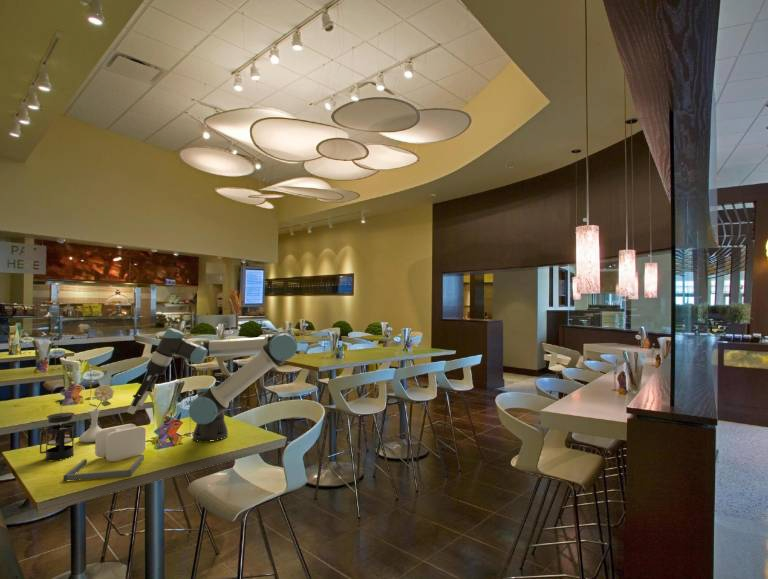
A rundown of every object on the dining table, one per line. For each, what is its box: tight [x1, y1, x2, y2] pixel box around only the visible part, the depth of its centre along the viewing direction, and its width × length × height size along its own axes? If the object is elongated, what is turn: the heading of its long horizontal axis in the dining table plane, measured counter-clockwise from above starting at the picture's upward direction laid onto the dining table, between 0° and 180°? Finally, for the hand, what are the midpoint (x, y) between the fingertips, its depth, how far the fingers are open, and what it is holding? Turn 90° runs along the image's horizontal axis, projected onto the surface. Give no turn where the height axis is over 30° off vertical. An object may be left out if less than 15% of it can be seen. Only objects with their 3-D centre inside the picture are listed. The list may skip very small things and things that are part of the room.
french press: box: [39, 398, 75, 461], centre depth 178 cm, size 12×9×23 cm
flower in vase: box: [78, 384, 115, 443], centre depth 201 cm, size 13×11×25 cm
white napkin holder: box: [94, 423, 147, 463], centre depth 179 cm, size 15×11×12 cm
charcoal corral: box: [62, 454, 145, 482], centre depth 163 cm, size 21×17×2 cm
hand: (134, 408), depth 187 cm, fingers open, 13 cm apart
